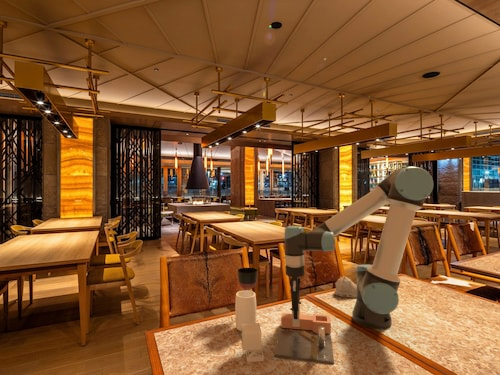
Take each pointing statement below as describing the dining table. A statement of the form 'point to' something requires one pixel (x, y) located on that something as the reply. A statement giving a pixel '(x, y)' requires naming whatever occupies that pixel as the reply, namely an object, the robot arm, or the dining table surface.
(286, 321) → the link
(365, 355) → the dining table surface
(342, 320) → the dining table surface
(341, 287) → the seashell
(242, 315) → the cup
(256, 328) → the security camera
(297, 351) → the base
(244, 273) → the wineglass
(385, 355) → the dining table surface
